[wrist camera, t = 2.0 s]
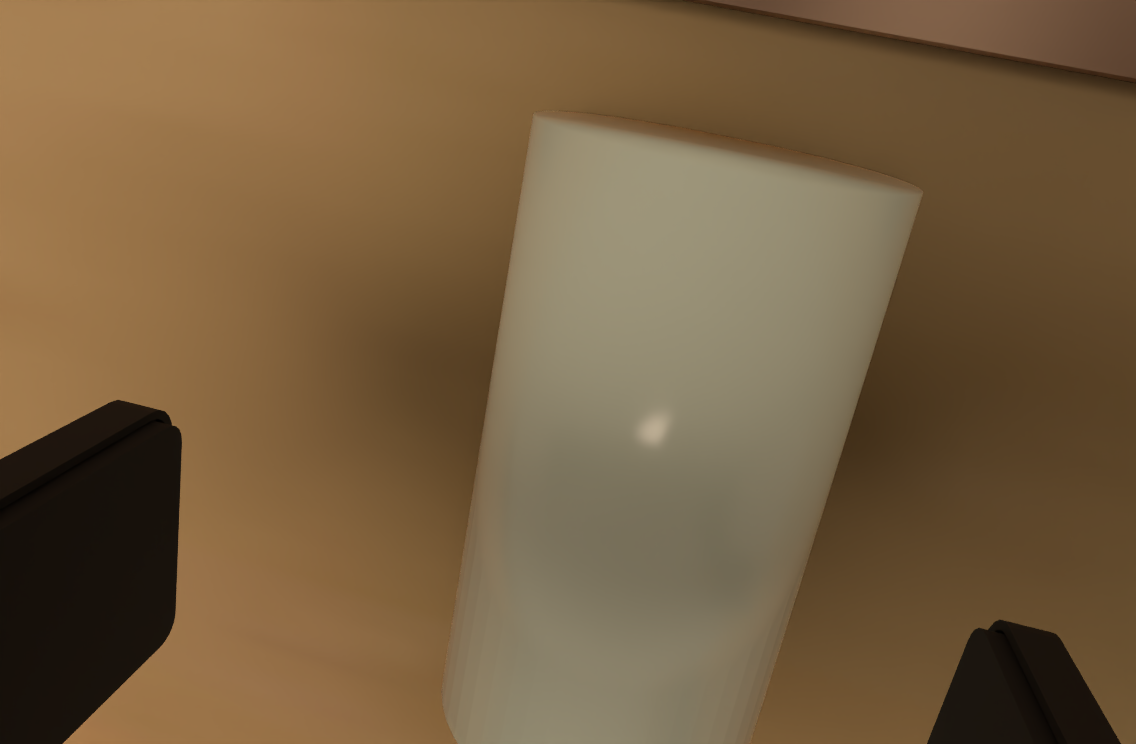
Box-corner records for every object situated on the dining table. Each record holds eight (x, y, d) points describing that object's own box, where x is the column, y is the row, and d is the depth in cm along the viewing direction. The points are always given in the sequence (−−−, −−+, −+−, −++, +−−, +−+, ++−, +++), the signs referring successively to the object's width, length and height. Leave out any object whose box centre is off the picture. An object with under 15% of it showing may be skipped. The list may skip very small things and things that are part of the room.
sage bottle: (562, 103, 16) (496, 123, 11) (880, 166, 15) (974, 218, 10) (456, 730, 21) (373, 957, 15) (696, 789, 20) (696, 1043, 15)
